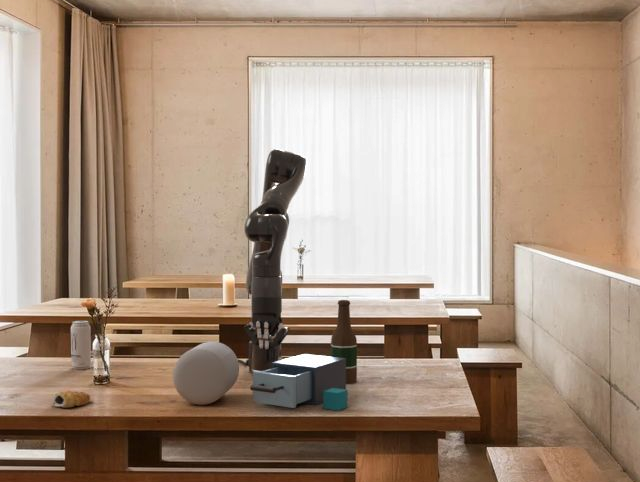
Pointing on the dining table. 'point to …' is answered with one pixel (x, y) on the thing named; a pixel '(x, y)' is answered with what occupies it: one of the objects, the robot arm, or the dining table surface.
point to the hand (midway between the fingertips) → (266, 363)
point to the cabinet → (319, 372)
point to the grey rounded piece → (205, 373)
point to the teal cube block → (335, 399)
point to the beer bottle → (345, 341)
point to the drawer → (282, 386)
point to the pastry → (70, 399)
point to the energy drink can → (80, 345)
